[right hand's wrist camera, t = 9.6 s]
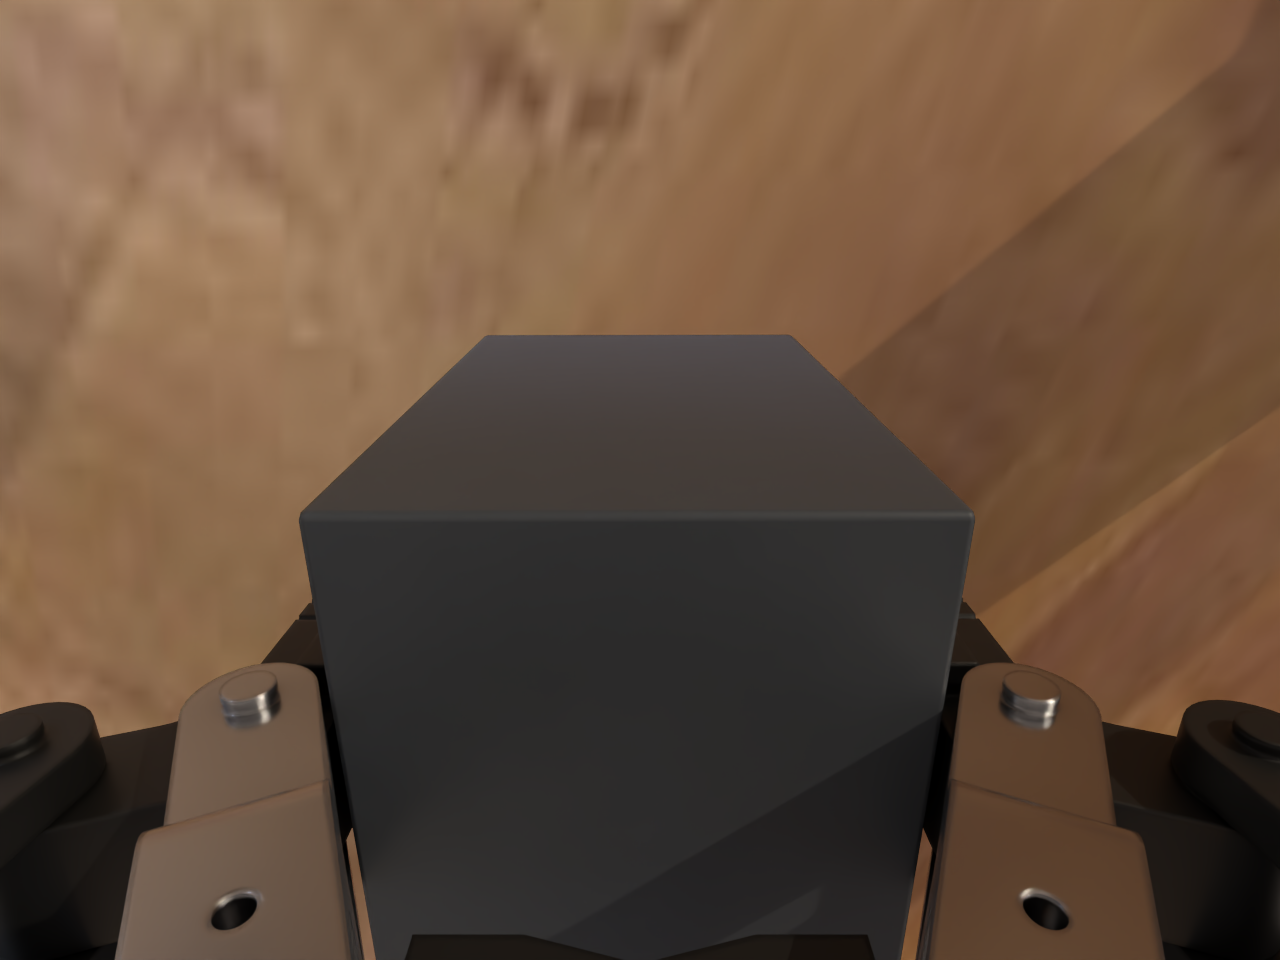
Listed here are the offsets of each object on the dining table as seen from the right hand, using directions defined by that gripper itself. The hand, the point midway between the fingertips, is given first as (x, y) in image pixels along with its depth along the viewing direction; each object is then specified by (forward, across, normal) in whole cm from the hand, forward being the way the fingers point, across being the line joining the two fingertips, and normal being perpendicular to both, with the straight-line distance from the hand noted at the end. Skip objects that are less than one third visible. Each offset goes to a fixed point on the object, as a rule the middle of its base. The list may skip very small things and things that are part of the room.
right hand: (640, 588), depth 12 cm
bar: (+4, 0, -9) cm, 10 cm away
